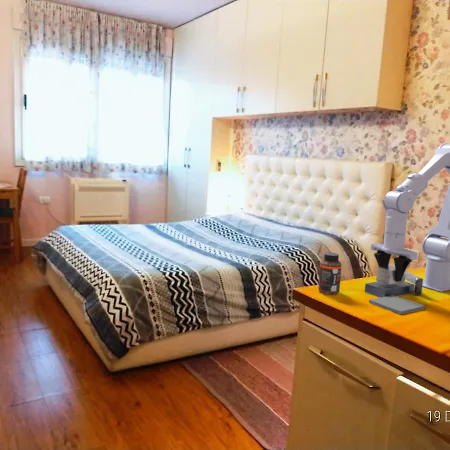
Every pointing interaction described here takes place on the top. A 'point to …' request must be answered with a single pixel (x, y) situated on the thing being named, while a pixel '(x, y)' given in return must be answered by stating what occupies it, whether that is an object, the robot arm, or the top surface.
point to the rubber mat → (397, 304)
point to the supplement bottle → (330, 274)
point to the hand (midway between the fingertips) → (390, 278)
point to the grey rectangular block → (388, 275)
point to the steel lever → (414, 282)
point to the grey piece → (389, 289)
